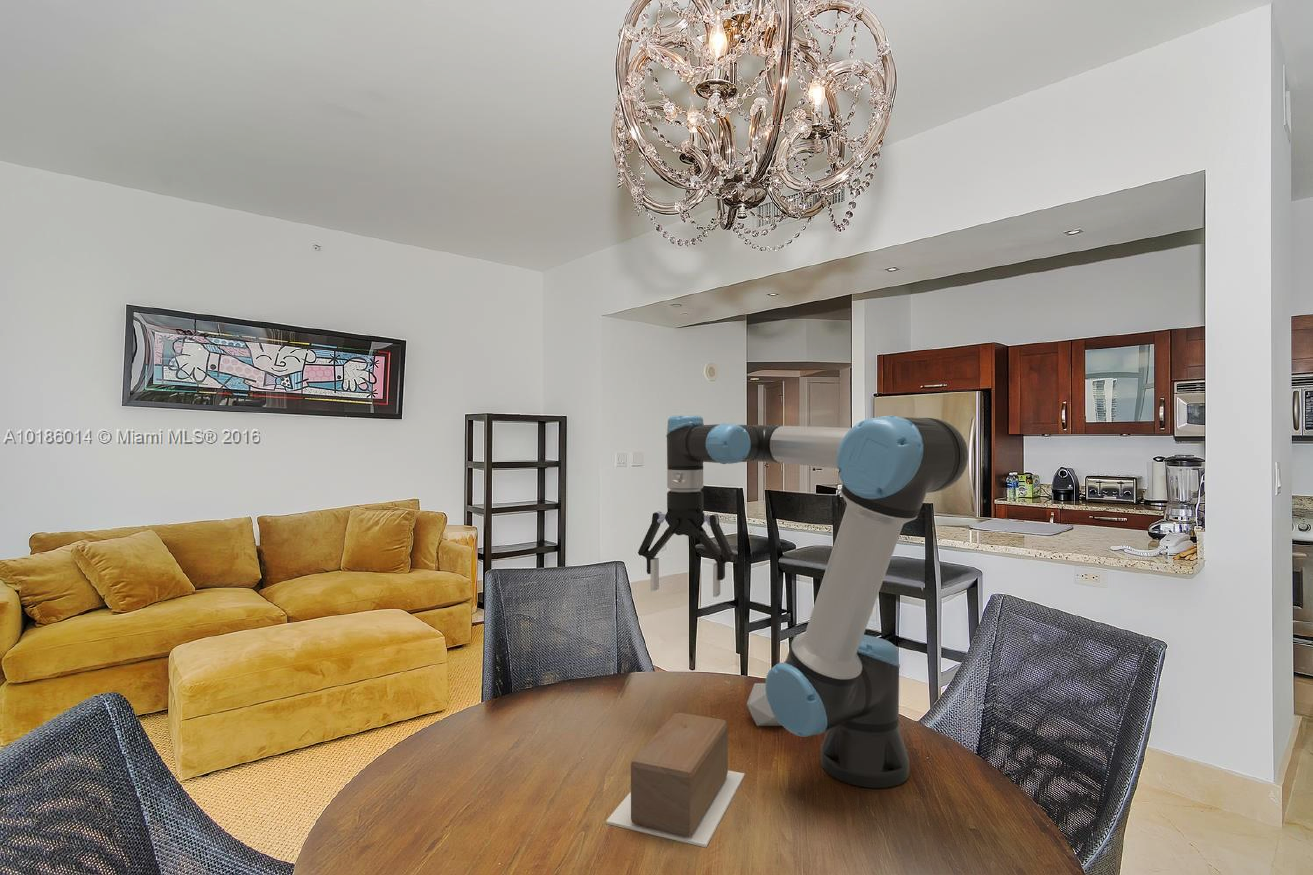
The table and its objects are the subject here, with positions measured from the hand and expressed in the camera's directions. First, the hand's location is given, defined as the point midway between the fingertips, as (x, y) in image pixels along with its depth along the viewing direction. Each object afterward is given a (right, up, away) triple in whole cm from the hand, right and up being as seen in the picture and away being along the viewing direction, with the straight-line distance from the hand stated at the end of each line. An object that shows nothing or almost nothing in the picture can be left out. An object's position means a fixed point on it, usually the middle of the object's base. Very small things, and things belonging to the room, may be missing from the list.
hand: (685, 592), depth 139 cm
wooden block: (-6, -21, -40) cm, 46 cm away
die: (+17, -27, 0) cm, 32 cm away
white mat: (-2, -27, -29) cm, 40 cm away
